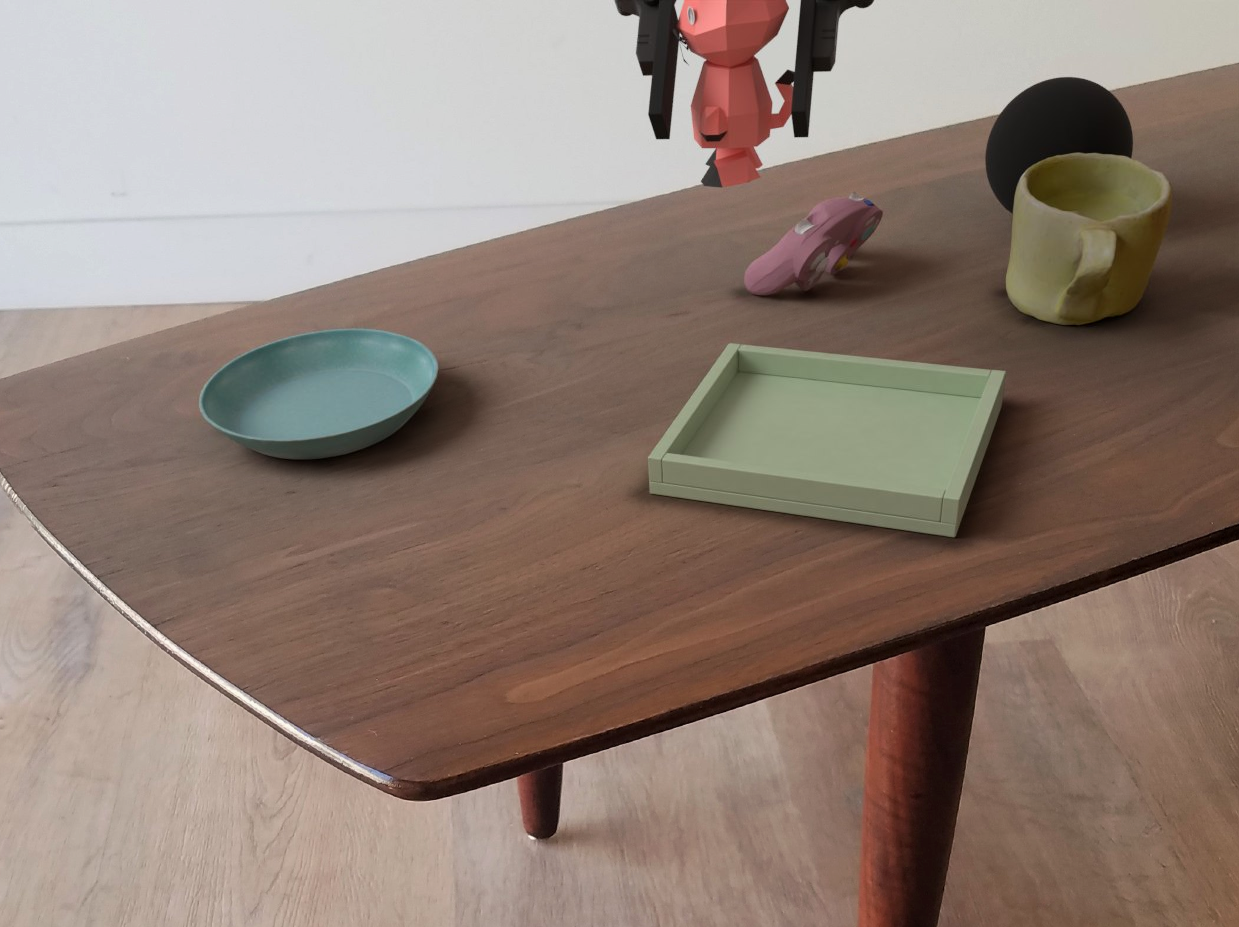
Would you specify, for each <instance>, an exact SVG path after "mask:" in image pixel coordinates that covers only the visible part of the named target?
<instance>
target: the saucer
mask: <svg viewBox="0 0 1239 927" xmlns="http://www.w3.org/2000/svg"><path fill="white" fill-rule="evenodd" d="M438 362H439V361H438V359H437V357H436V355H435V353H434V352H433V351H432V350H431V348H429V347H428V346H427V345H426V344H423V343H422V342H421V341H419V340H417V339H414V338H412V337H410V336H407V335H403V334H399V333H396V332H392V331H388V330H382V329H374V328H373V329H371V328H361V327H360V328H357V327H356V328H333V329H332V328H331V329H324V330H319V331H311V332H306V333H305V332H304V333H300V334H295V335H291V336H287V337H284V338H280V339H278V340H274V341H271V342H268V343H266V344H263V345H260V346H257V347H255V348H253V349H252V350H249V351H246V352H243V354H241V355H239V356H237V357H235V358H233V359H232V360H230V361H228V362H227V363H225V364H224V365H223V366H222V367H220V368H219V369H218V370H217V371H216V372H214V373H213V375H211V377H210V378H209V379H208V380H207V381H206V383H205V384H204V385H203V388H201V391H200V395H199V398H198V407H199V411H200V413H201V415H202V417H203V419H205V420H206V422H207V423H209V424H210V425H211V426H212V427H213V428H214V429H215V430H217V431H218V432H220V434H222V435H223V436H225V437H226V438H227V439H230V440H231V441H233V442H234V443H237V444H239V445H241V446H243V447H245V448H247V449H248V450H249V449H250V450H253V451H254V452H256V453H260V454H262V455H265V456H268V457H273V458H278V459H286V460H320V459H328V458H333V457H339V456H344V455H347V454H350V453H354V452H357V451H360V450H363V449H366V448H369V447H370V446H373V445H375V444H377V443H379V442H380V443H381V441H383V440H385V439H387V438H388V437H391V436H392V435H393V434H395V433H396V432H398V430H400V429H401V428H402V427H404V425H406V423H407V422H408V421H409V420H410V419H411V418H412V417H413V416H414V415H415V414H416V412H418V410H419V409H420V407H422V405H423V403H424V402H425V401H426V399H427V398H428V396H429V395H430V392H431V391H432V389H433V388H434V385H435V383H436V380H437V378H438V374H439V363H438Z"/></svg>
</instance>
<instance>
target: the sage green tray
mask: <svg viewBox="0 0 1239 927" xmlns="http://www.w3.org/2000/svg"><path fill="white" fill-rule="evenodd" d="M722 351H723V352H722V353H721V354H720V356H718V358H717V359H716V361H715V363H714V364H713V365H712V366H711V368H710V369H709V371H708V372H707V374H706V375H705V376H704V378H703V379H702V380H701V382H700V383H699V385H698V386H697V388H696V389H695V391H694V392H693V393H692V394H691V397H690V398H689V399H688V400H687V402H686V403H685V404H684V405H683V408H682V409H681V410H680V412H679V413H678V414H677V416H676V417H675V418H674V420H673V422H672V423H671V424H670V426H669V427H668V429H667V430H666V431H665V433H664V434H663V435H662V437H661V438H660V440H659V441H658V443H657V444H656V446H655V447H654V448H653V450H652V451H651V452H650V453H649V455H648V456H647V463H648V465H647V467H648V481H649V482H648V483H649V484H648V485H649V494H650V495H657V496H665V497H671V498H679V499H686V500H693V501H699V502H700V501H701V502H708V503H713V504H721V505H728V506H734V507H741V508H746V509H753V510H763V511H768V512H775V513H783V514H790V515H795V516H802V517H810V518H817V519H825V520H831V521H837V522H844V523H852V524H858V525H865V526H872V527H879V528H887V529H893V530H899V531H906V532H907V531H908V532H914V533H922V534H926V535H927V534H929V535H935V536H942V537H948V538H956V536H957V533H958V531H959V528H960V525H961V522H962V519H963V517H964V514H965V511H966V509H967V504H968V502H969V499H970V497H971V494H972V491H973V488H974V486H975V483H976V480H977V477H978V474H979V471H980V469H981V465H982V463H983V460H984V458H985V454H986V452H987V449H988V446H989V444H990V440H991V439H992V438H991V437H992V435H993V432H994V429H995V427H996V423H997V420H998V417H999V415H1000V412H1001V409H1002V406H1003V398H1004V396H1003V395H1004V391H1005V384H1006V383H1005V382H1006V374H1007V371H1006V370H998V369H986V368H977V367H966V366H958V365H957V366H956V365H948V364H947V365H946V364H937V363H928V362H918V361H917V362H916V361H907V360H898V359H889V358H879V357H878V358H877V357H869V356H860V355H859V356H858V355H850V354H839V353H830V352H829V353H828V352H820V351H819V352H818V351H810V350H800V349H792V348H791V349H789V348H780V347H770V346H761V345H753V344H752V345H750V344H741V343H733V342H729V343H728V344H727V345H726V347H725V349H724V350H722Z"/></svg>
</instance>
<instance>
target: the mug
mask: <svg viewBox="0 0 1239 927" xmlns="http://www.w3.org/2000/svg"><path fill="white" fill-rule="evenodd" d="M1172 201H1173V191H1172V184H1171V182H1170V181H1169V179H1167V177H1166V176H1165V174H1164V173H1163V172H1161V171H1158V170H1154V169H1153V168H1150V167H1149V166H1147V165H1146V164H1145V163H1143V162H1141V161H1140V160H1136V159H1134V158H1129V157H1126V156H1117V155H1111V154H1099V153H1088V154H1084V153H1071V154H1066V155H1057V156H1054V157H1050V158H1047V159H1045V160H1042V161H1040V162H1038V163H1036V164H1034V165H1032V166H1031V167H1030V168H1028V169H1027V170H1026V171H1025V173H1024V174H1023V175H1022V176H1021V178H1020V180H1019V182H1018V185H1017V188H1016V192H1015V197H1014V207H1013V214H1012V225H1011V227H1012V228H1011V241H1010V243H1011V244H1010V253H1009V259H1008V264H1007V270H1006V276H1005V289H1006V293H1007V297H1008V299H1009V301H1010V302H1011V303H1012V305H1013V306H1014V307H1015V308H1016V309H1017V310H1018V311H1019V312H1020V313H1023V314H1024V315H1028V316H1031V317H1033V318H1036V319H1037V320H1040V321H1044V322H1047V323H1051V324H1055V325H1060V326H1061V325H1063V326H1071V325H1073V326H1074V325H1076V326H1080V325H1086V324H1090V323H1094V322H1097V321H1101V320H1102V319H1105V318H1110V317H1111V318H1113V317H1115V316H1122V315H1124V314H1127V313H1129V312H1130V311H1132V310H1134V309H1135V308H1136V307H1137V306H1138V304H1139V303H1140V301H1141V300H1142V298H1143V296H1144V293H1145V291H1146V288H1147V286H1148V283H1149V279H1150V276H1151V273H1152V270H1153V267H1154V265H1155V263H1156V259H1157V256H1158V254H1159V251H1160V248H1161V244H1162V242H1163V239H1164V237H1165V234H1166V231H1167V229H1168V225H1169V221H1170V217H1171V212H1172Z"/></svg>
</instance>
